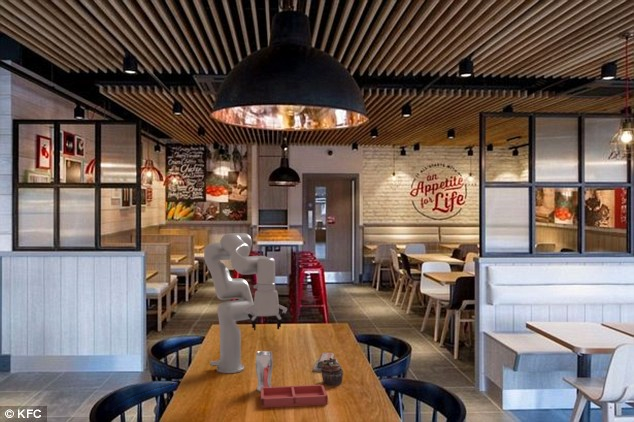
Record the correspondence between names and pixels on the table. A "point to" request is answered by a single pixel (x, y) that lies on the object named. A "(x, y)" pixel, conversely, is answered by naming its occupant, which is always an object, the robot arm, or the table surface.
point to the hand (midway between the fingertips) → (266, 329)
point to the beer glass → (264, 369)
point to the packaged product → (323, 357)
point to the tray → (293, 396)
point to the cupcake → (331, 372)
